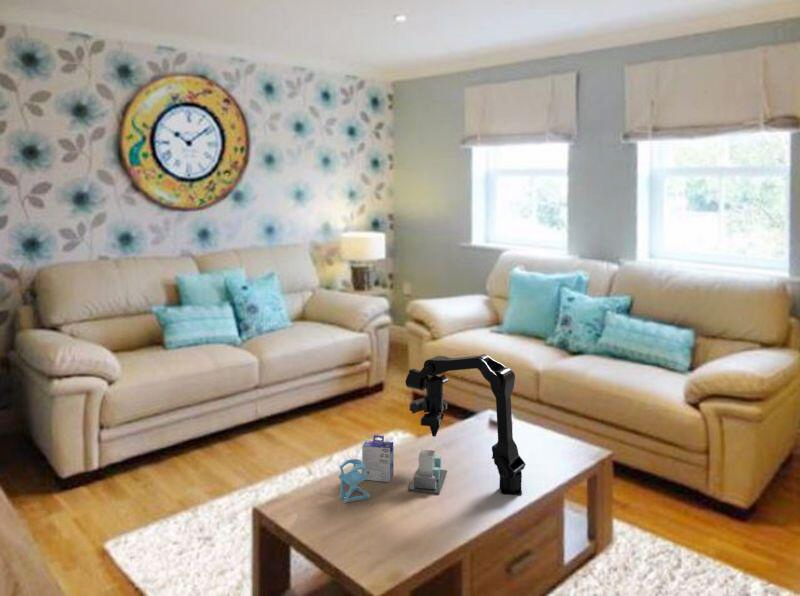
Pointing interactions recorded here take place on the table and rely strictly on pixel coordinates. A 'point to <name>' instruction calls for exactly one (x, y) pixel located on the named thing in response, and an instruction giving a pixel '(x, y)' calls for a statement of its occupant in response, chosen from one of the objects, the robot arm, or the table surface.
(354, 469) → the chair
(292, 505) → the table surface
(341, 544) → the table surface
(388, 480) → the ink cartridge box
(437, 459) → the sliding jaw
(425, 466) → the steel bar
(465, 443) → the table surface
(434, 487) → the bench vise
